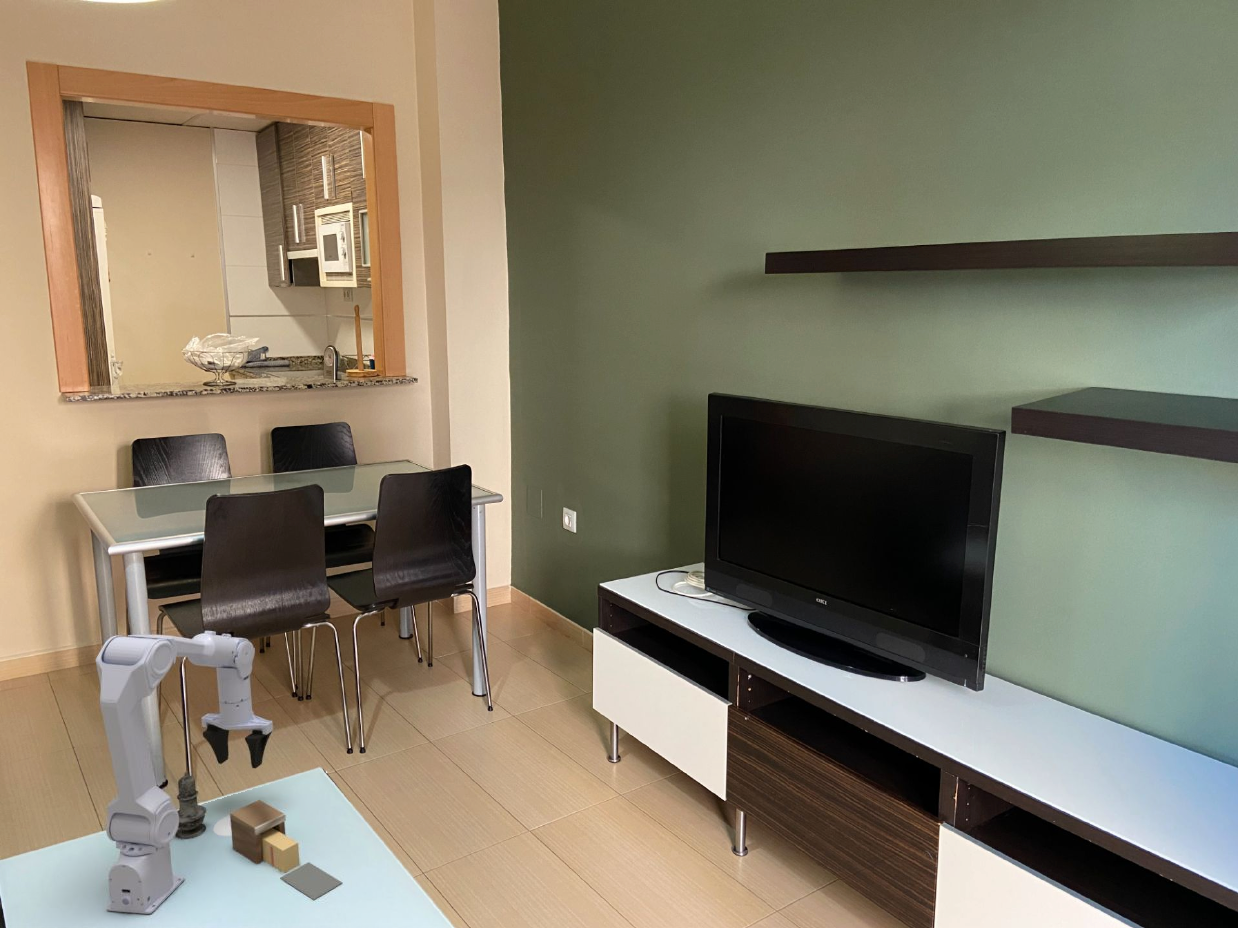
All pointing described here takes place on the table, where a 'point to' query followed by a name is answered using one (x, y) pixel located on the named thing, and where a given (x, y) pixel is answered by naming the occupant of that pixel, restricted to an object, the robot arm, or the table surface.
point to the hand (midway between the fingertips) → (240, 763)
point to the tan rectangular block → (279, 850)
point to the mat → (311, 880)
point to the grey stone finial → (189, 809)
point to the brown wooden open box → (254, 828)
